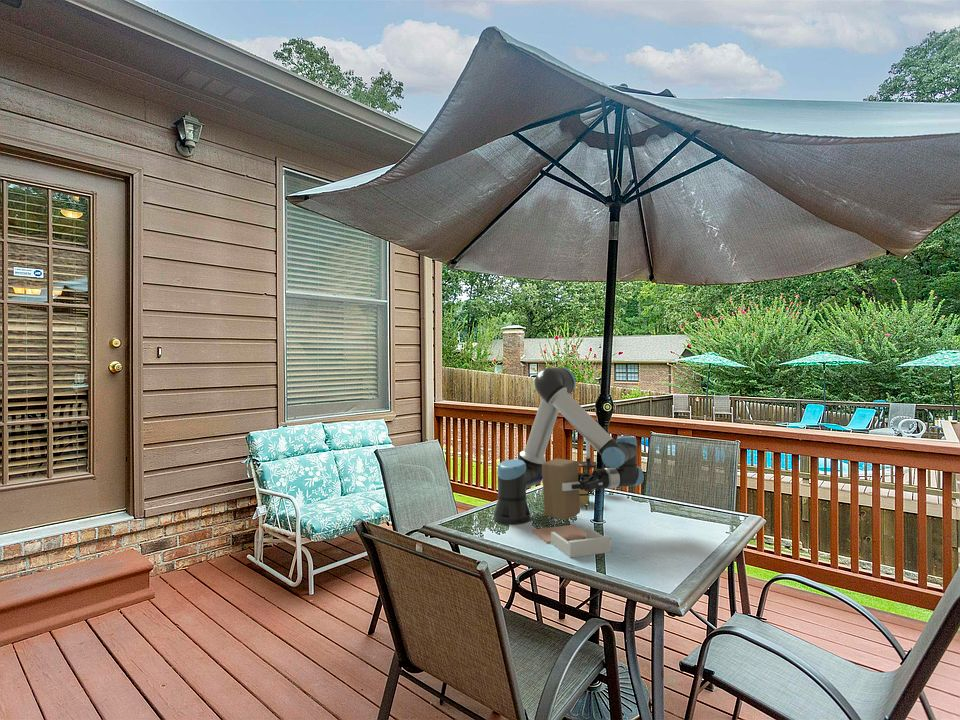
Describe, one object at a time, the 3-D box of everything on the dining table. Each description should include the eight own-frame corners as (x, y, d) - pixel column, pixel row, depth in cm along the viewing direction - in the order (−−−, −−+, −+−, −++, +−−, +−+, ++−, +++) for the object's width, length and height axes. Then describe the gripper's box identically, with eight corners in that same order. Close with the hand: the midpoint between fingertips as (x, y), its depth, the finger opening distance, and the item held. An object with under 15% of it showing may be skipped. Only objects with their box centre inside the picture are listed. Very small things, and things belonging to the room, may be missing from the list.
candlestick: (583, 496, 253) (583, 423, 253) (573, 491, 263) (572, 420, 263) (603, 494, 256) (603, 422, 256) (593, 489, 266) (592, 419, 266)
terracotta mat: (547, 543, 189) (547, 541, 189) (531, 531, 202) (531, 529, 202) (591, 537, 195) (591, 535, 195) (573, 526, 208) (573, 524, 208)
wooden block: (559, 508, 204) (556, 457, 204) (581, 513, 198) (578, 460, 197) (543, 516, 197) (540, 463, 196) (566, 521, 190) (563, 466, 189)
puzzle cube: (561, 500, 246) (561, 478, 246) (583, 499, 247) (582, 478, 247) (566, 506, 236) (566, 484, 236) (588, 505, 237) (588, 483, 237)
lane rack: (610, 552, 180) (610, 537, 180) (570, 557, 175) (570, 542, 175) (589, 538, 194) (589, 524, 194) (551, 543, 189) (550, 529, 189)
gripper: (623, 496, 191) (570, 501, 184) (588, 481, 214) (540, 485, 208) (623, 475, 191) (570, 479, 184) (588, 462, 214) (540, 466, 208)
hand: (554, 482), depth 196 cm, fingers closed on wooden block, 13 cm apart
